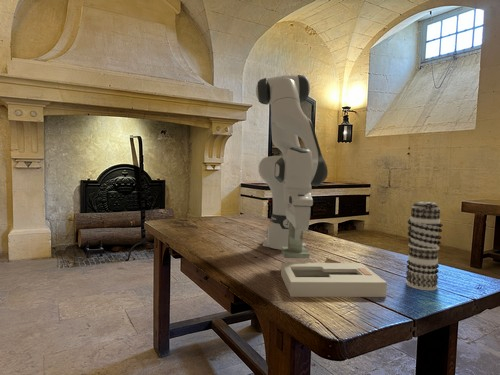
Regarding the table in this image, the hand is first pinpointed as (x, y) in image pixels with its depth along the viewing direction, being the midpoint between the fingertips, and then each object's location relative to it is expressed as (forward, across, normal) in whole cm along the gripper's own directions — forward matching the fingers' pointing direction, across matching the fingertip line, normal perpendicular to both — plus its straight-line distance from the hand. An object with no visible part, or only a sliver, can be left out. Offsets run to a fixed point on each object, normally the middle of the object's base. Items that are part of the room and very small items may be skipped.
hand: (295, 237), depth 112 cm
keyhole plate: (+10, +14, +8) cm, 19 cm away
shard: (+12, -5, +14) cm, 19 cm away
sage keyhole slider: (+6, 0, 0) cm, 6 cm away
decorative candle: (+10, +14, +36) cm, 40 cm away
